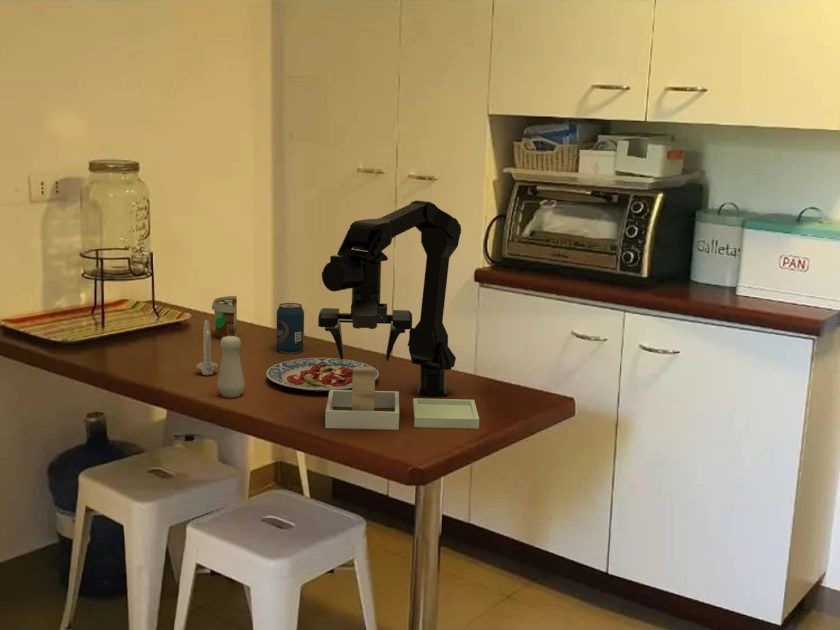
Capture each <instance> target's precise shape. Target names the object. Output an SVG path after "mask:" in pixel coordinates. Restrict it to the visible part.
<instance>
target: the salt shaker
mask: <svg viewBox="0 0 840 630" xmlns="http://www.w3.org/2000/svg"><path fill="white" fill-rule="evenodd" d="M241 344H242V342H241V338H240V337H238V336H226V337H223V338H222V339H221V340H220V348H221V349H222V354H221V355H222V356H221V359H220V360H221V361H220V368H219V374H218V379H217V388H218V390H219V392H220V395H221V396H222V397H223V398H228V399H232V398H233V399H234V398H238V397H240V396H241V394H242V392H243V391H244V388H245V386H246V383H245V380H244V379H245V378H244V374H243V368H242V363H241V359H240V358H241V357H240V352H239V349H240V348H241V346H242V345H241Z"/></svg>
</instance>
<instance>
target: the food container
mask: <svg viewBox="0 0 840 630" xmlns="http://www.w3.org/2000/svg"><path fill="white" fill-rule="evenodd" d="M237 297H238V296H237V295H236V296H235V295H231V296H221V297H220V296H219V297H216V298H214V300H213V301H212V303H211V304H212V305H211V309H212V310H213V311H214V320H215V321H214V322H215V323H214V325H215V335H216V339H217V340H220V341H221V339H222V338H223V337H226V336H235V337H237V333H238V332H237V329H238V327H237V326H238V325H237V324H238V323H237V320H238V318H237V313H238V312H237V311H238V309H237V308H238V307H237V306H238V305H237V303H238V300H237V299H238V298H237Z"/></svg>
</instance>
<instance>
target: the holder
mask: <svg viewBox="0 0 840 630" xmlns="http://www.w3.org/2000/svg"><path fill="white" fill-rule="evenodd" d="M399 393H400V392H399V391H394V390H391V391H390V390H384V391H383V390H375V398H374V409H393V410H394V411H384V410H383V411H380V410H379V411H378V410H374V411H352V410H348V409H347V410H346V409H345V410H341V409H339V410H338V409H337V410H336V409H334V408H335V407H336V408H352V389H345V390H330V391H328V396H327V397H328V398H327V403H326V406H325V407H326V408H325V420H324V421H325V424H324V425H325V426H324V428H325V429H346V430H347V429H349V430H351V429H353V430H387V431H388V430H391V431H393V430H397V431H399V429H400V397H399Z"/></svg>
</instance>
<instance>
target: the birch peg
mask: <svg viewBox="0 0 840 630" xmlns="http://www.w3.org/2000/svg"><path fill="white" fill-rule="evenodd" d="M375 369H376V367H374V368H355V367H353V380H352V388H351V390H352V407H351V411H375V408H374V398H375V391H376V380H375Z"/></svg>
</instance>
